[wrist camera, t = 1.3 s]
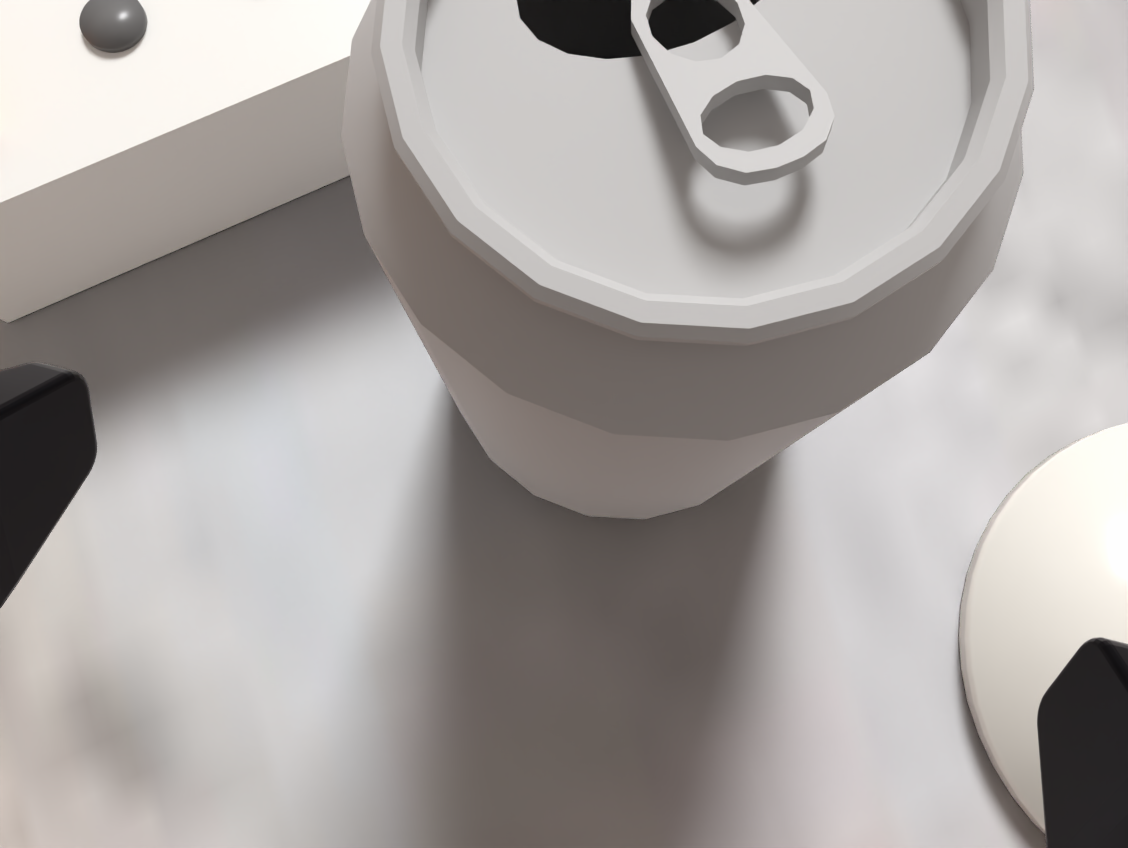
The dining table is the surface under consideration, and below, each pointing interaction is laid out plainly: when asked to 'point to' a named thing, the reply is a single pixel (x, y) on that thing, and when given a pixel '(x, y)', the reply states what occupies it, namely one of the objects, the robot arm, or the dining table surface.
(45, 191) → the power strip
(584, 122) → the can
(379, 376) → the dining table surface
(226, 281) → the dining table surface
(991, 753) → the coaster
